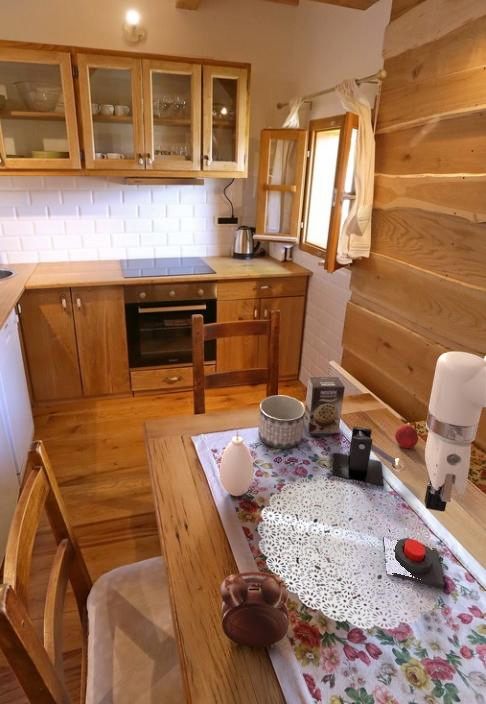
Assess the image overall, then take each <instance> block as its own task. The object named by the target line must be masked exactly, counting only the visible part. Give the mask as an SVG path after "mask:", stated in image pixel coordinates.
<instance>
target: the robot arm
mask: <svg viewBox="0 0 486 704" xmlns="http://www.w3.org/2000/svg"><path fill="white" fill-rule="evenodd" d="M434 371H435V372H434V377H433V381H432V387H431V391H430V392H431V393H430V398H429V403H428V410H427V414H426V421H425V429H426V430H427V431H428V433H427V438H426V443H425V450H424V460H425V465H426V468H427V469H426V470H427V472H428V478H427V483H428V484H427V485H426V489H425V494H424V499H423V500H424V501H423V502H424V505H425V508H426V509H427V510H431V511H438V512H443V513H444V512H445V511H446V507H447V503H451V500H452V492H453V485H454V488H455V490H456V493H457V495H459V496H464V494H465V493H466V488H467V483H468V477H469V473H470V463H471V454H472V442H474V441H475V440H476V436H477V431H478V428H479V424H480V418H481V415H482V412H483V411H482V410H483V408H485V409H486V355H485V356H484V358H483V357H481V356H479V355H476V354H474V353H470V352H466V351H465V352H464V351H447V352H445V353H442V354H441V355H440V356H439V357H438V359H437V360H436V365H435V370H434Z"/></svg>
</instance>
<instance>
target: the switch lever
mask: <svg viewBox="0 0 486 704" xmlns="http://www.w3.org/2000/svg"><path fill="white" fill-rule="evenodd" d="M355 436H359V437H364V438H369V437H368V436H367V435H365V434H364V433H362V432H361V431H359V432H358V433H357V434H356V435H355ZM371 451H373V452H374V453H376V454H377V455H378V456H380V457H381V458H383V459H384V460H386V461H387V462H388V463H390V464H391V467H392V469H393V470H394V471H395V472H397V473H403V472H404V471H405V470H406V468H407V465H406V462H405V461H404V459H402V458H394V457H393V456H391V455H389V454H388V453H387V452H385V451H384V450H383V449H381V448H379V447H378V446H376V445H375V444H374V443H372V447H371Z"/></svg>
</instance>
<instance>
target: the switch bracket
mask: <svg viewBox="0 0 486 704" xmlns="http://www.w3.org/2000/svg"><path fill="white" fill-rule="evenodd" d="M359 431H361V432H362V433H364V434H365V435H367V436H368V437H369V438H364V437H359V436H355V435H356V434H357V433H358V432H359ZM372 432H373V431H372V429H371V428H366V427H360V426H352V432H351V439H350V445H349V452H348V454H344V453H338V452H333V457H332V474H331V476H332V477H336V478H341V479H345V480H350V481H355V482H356V481H357V482H360V483H364V484H370V485H375V486H379V487H384V479H383V470H382V462H381V460H376V459H371V458H370V457H371V452H372V450H371V447H372V444H373V438H372Z"/></svg>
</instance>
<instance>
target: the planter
mask: <svg viewBox="0 0 486 704" xmlns="http://www.w3.org/2000/svg"><path fill="white" fill-rule="evenodd" d="M304 419H305V405H304V404H303V403H302V402H301V401H300V400H299V399H297V398H295V397H292V396H288V395H283V394H281V395H280V394H279V395H277V394H276V395H271V396H267V397H266V398H264V399H262V400H261V401H260V402H259V413H258V430H257V432H258V438H259V439H260V441H261V442H262V443H264V444H265V445H266V446H268V447H271V448H274V449H279V450H289V449H293V448H296V447H298V446H299V445H300V444H301V443H302V441H303V438H304V427H305V423H304Z"/></svg>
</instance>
